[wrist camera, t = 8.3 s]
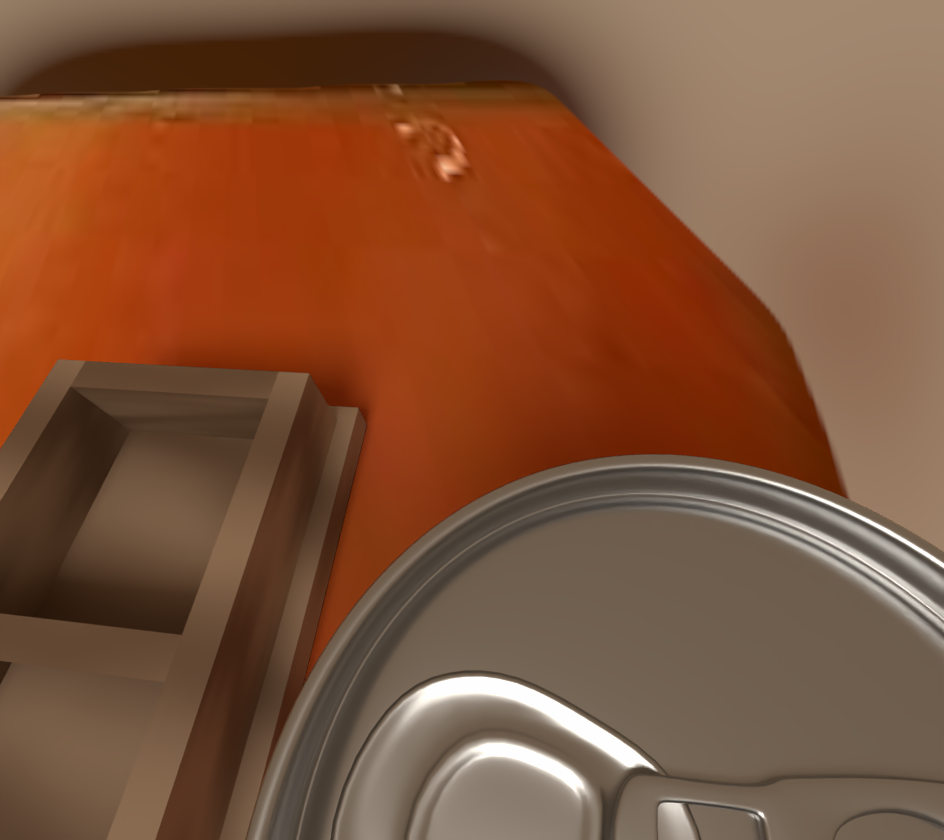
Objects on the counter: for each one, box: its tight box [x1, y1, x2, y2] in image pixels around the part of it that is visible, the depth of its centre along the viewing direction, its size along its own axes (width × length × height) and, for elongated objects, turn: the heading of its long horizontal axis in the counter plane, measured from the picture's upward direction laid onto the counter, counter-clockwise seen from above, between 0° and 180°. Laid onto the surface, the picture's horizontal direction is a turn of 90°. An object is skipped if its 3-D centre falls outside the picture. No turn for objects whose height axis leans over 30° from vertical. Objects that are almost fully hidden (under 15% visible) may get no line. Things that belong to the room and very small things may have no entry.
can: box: [245, 454, 944, 840], centre depth 8 cm, size 6×6×12 cm
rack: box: [0, 360, 367, 840], centre depth 17 cm, size 21×12×5 cm, turn 174°
